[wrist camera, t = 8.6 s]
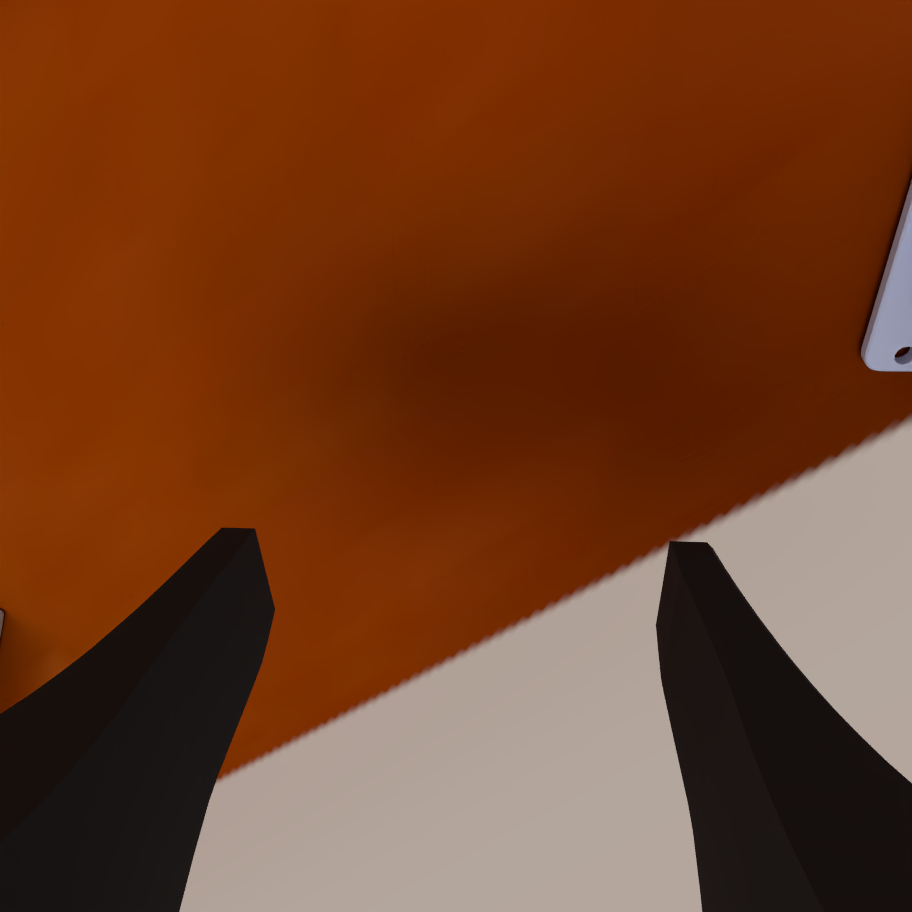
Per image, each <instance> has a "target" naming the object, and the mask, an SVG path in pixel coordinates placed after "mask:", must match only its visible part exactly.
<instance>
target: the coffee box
mask: <svg viewBox="0 0 912 912" xmlns="http://www.w3.org/2000/svg"><path fill="white" fill-rule="evenodd" d="M3 618H4V612H3V611H2V610H0V636H1V630H2V624H3Z"/></svg>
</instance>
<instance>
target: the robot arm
mask: <svg viewBox="0 0 912 912" xmlns="http://www.w3.org/2000/svg"><path fill="white" fill-rule="evenodd" d="M903 347H910V350H909V351H908V353H907V354H905V355H904V356H901V357H895V354H896V353H897V351H898V350H900V349H901V348H903ZM861 357H862V359H863V361H864V362H865V364H866V365H867V366H868V367H869V368H870V369H872V370H876V371H912V181H911V184H910V188H909V191H908V194H907V198H906V201H905V204H904V208H903V211H902V215H901V218H900V221H899V225H898V228H897V231H896V235H895V238H894V241H893V245H892V248H891V251H890V255H889V258H888V261H887V265H886V268H885V271H884V275H883V278H882V281H881V285H880V288H879V291H878V295H877V298H876V301H875V305H874V308H873V311H872V315H871V318H870V321H869V325H868V328H867V331H866V335H865V338H864V342H863V345H862V348H861ZM274 612H275V607H274V603H273V599H272V595H271V591H270V587H269V583H268V579H267V575H266V571H265V567H264V563H263V559H262V555H261V551H260V547H259V543H258V539H257V535H256V531H255V529H250V528H221V529H220V530H219V531H218V532H217V533H216V534H215V535H214V536H212V537H211V538H210V539H209V540H208V541H207V542H206V543H205V544H204V545H203V546H202V547H201V548H200V549H199V550H198V551H197V552H196V553H195V554H194V555H193V556H192V557H191V558H190V559H189V560H188V561H187V562H186V563H185V564H184V565H183V566H182V567H181V568H180V569H178V570H177V571H176V572H175V573H174V574H173V575H172V576H171V577H170V578H169V579H168V580H167V581H166V582H165V583H164V584H163V585H162V586H161V587H160V588H159V589H158V590H157V591H156V592H154V593H153V594H152V595H151V596H150V597H149V598H148V599H147V600H146V601H145V602H144V603H143V604H142V605H141V606H140V607H138V608H137V609H136V610H135V611H134V612H133V613H132V614H131V615H130V616H128V617H127V618H126V619H125V620H124V621H123V622H122V623H120V624H119V625H118V626H117V627H116V628H115V629H113V630H112V631H111V632H110V633H109V634H108V635H106V636H105V637H104V638H103V639H102V640H101V641H100V642H98V643H97V644H96V645H95V646H94V647H93V648H91V649H90V650H89V651H88V652H86V653H85V654H84V655H83V656H81V657H80V658H79V659H78V660H76V661H75V662H74V663H72V664H71V665H70V666H69V667H67V668H66V669H65V670H63V671H62V672H60V673H59V674H58V675H56V676H55V677H54V678H52V679H51V680H50V681H48V682H47V683H46V684H44V685H43V686H41V687H40V688H39V689H37V690H36V691H34V692H33V693H32V694H30V695H29V696H27V697H26V698H24V699H23V700H21V701H20V702H18V703H17V704H15V705H13V706H12V707H10V708H9V709H7V710H6V711H4V712H3V713H1V714H0V912H179V910H180V906H181V902H182V899H183V895H184V891H185V887H186V883H187V879H188V875H189V872H190V867H191V864H192V860H193V856H194V852H195V849H196V845H197V842H198V838H199V835H200V831H201V827H202V824H203V820H204V816H205V813H206V810H207V806H208V803H209V799H210V796H211V794H212V791H213V788H214V785H215V782H216V779H217V776H218V774H219V771H220V769H221V766H222V764H223V761H224V759H225V756H226V753H227V751H228V748H229V746H230V743H231V741H232V738H233V736H234V733H235V731H236V728H237V726H238V723H239V721H240V718H241V715H242V713H243V710H244V708H245V705H246V703H247V700H248V698H249V695H250V692H251V690H252V687H253V685H254V682H255V680H256V677H257V674H258V672H259V669H260V666H261V664H262V660H263V657H264V653H265V649H266V645H267V641H268V638H269V633H270V629H271V625H272V620H273V616H274ZM656 629H657V641H658V651H659V662H660V672H661V680H662V686H663V691H664V695H665V700H666V705H667V709H668V714H669V718H670V723H671V728H672V733H673V737H674V742H675V746H676V750H677V755H678V760H679V764H680V769H681V773H682V778H683V782H684V787H685V791H686V796H687V800H688V806H689V811H690V817H691V822H692V828H693V835H694V843H695V852H696V859H697V868H698V876H699V884H700V894H701V903H702V912H912V783H911V782H910V781H908V780H907V779H906V778H905V777H904V776H903V775H902V774H900V773H899V772H898V771H897V770H896V769H895V768H894V767H892V766H891V765H890V764H889V763H888V762H887V761H886V760H884V758H883V757H882V756H881V755H879V753H877V752H876V751H875V750H874V749H873V748H872V747H871V746H870V745H869V744H868V743H867V742H866V741H865V740H864V739H863V738H862V737H861V736H860V735H859V734H858V733H857V732H856V731H855V730H854V729H853V728H852V727H851V726H850V725H849V724H848V723H847V722H846V721H845V720H844V719H843V718H842V717H841V716H840V715H839V714H838V712H837V711H836V710H835V709H834V708H833V707H832V706H831V705H830V704H829V703H828V702H827V701H826V699H825V698H824V697H823V696H822V695H821V694H820V693H819V692H818V691H817V689H816V688H815V687H814V686H813V685H812V684H811V683H810V681H809V680H808V679H807V678H806V676H805V675H804V674H803V673H802V672H801V671H800V669H799V668H798V667H797V666H796V665H795V663H794V662H793V661H792V660H791V659H790V657H789V656H788V655H787V654H786V652H785V651H784V650H783V649H782V647H781V646H780V645H779V643H778V642H777V641H776V639H775V638H774V637H773V635H772V634H771V633H770V632H769V630H768V629H767V628H766V626H765V625H764V624H763V622H762V621H761V620H760V618H759V617H758V616H757V614H756V613H755V611H754V610H753V609H752V607H751V606H750V604H749V603H748V602H747V600H746V599H745V597H744V596H743V594H742V593H741V592H740V590H739V589H738V587H737V586H736V584H735V583H734V581H733V580H732V578H731V576H730V575H729V573H728V572H727V571H726V569H725V567H724V566H723V564H722V562H721V561H720V560H719V558H718V556H717V555H716V553H715V551H714V550H713V548H712V547H711V546H710V545H709V544H708V543H707V542H677V541H670V543H669V550H668V556H667V563H666V568H665V574H664V580H663V586H662V592H661V598H660V604H659V610H658V616H657V622H656Z"/></svg>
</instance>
